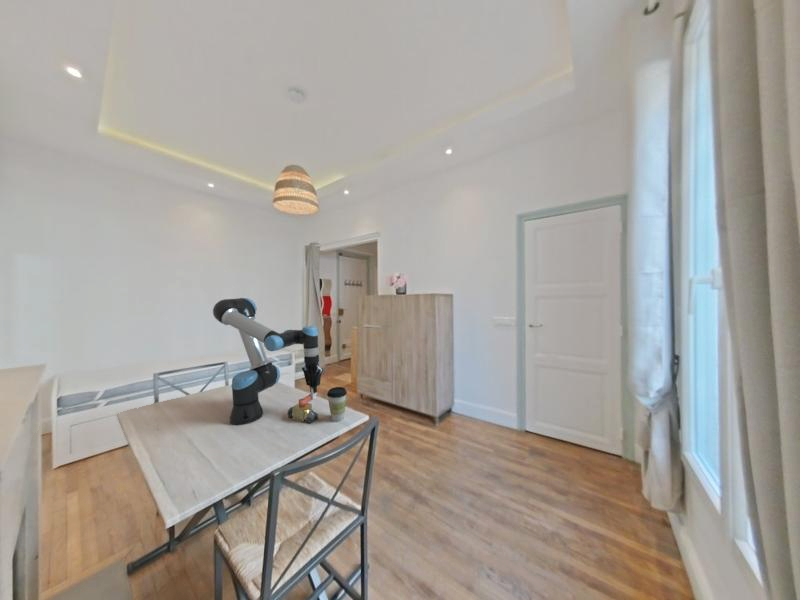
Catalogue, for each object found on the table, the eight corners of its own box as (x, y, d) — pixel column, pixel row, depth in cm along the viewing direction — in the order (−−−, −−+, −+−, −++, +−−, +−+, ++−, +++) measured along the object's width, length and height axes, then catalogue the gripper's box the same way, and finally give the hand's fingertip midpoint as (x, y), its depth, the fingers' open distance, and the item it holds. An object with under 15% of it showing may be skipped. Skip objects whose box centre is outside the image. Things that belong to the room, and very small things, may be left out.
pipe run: (287, 419, 141) (286, 404, 141) (295, 413, 147) (295, 400, 146) (310, 425, 135) (309, 410, 134) (318, 419, 140) (318, 405, 139)
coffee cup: (343, 424, 134) (342, 394, 133) (324, 422, 136) (323, 393, 135) (350, 414, 144) (349, 387, 143) (333, 413, 145) (332, 385, 145)
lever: (302, 406, 138) (302, 401, 138) (297, 405, 139) (297, 400, 139) (319, 395, 151) (319, 390, 151) (315, 395, 152) (315, 390, 152)
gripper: (297, 356, 144) (299, 399, 146) (315, 357, 139) (318, 403, 140) (307, 352, 151) (309, 394, 152) (325, 354, 146) (327, 397, 147)
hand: (313, 398), depth 146 cm, fingers closed
